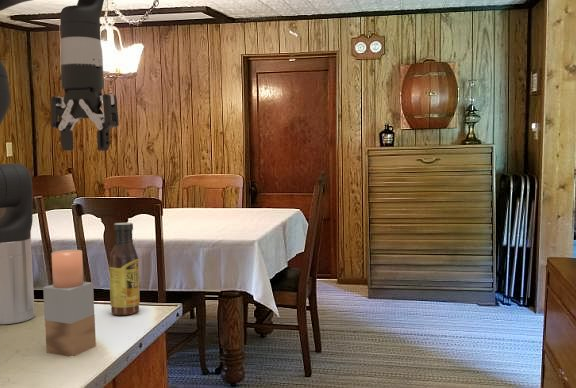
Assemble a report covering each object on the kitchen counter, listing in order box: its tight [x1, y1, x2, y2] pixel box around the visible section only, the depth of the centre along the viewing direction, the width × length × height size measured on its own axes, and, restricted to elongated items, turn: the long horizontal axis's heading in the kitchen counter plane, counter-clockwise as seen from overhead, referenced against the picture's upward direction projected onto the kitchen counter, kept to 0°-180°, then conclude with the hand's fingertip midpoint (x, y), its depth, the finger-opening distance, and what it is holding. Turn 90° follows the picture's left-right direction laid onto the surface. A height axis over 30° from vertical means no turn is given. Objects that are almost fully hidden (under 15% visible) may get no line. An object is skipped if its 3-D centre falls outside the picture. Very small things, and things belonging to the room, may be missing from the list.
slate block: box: [42, 281, 95, 324], centre depth 109 cm, size 6×6×6 cm
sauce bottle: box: [109, 222, 141, 316], centre depth 132 cm, size 6×6×20 cm
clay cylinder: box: [51, 249, 84, 288], centre depth 109 cm, size 5×5×6 cm
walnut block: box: [44, 314, 97, 357], centre depth 110 cm, size 6×6×6 cm
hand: (85, 150), depth 115 cm, fingers open, 8 cm apart
